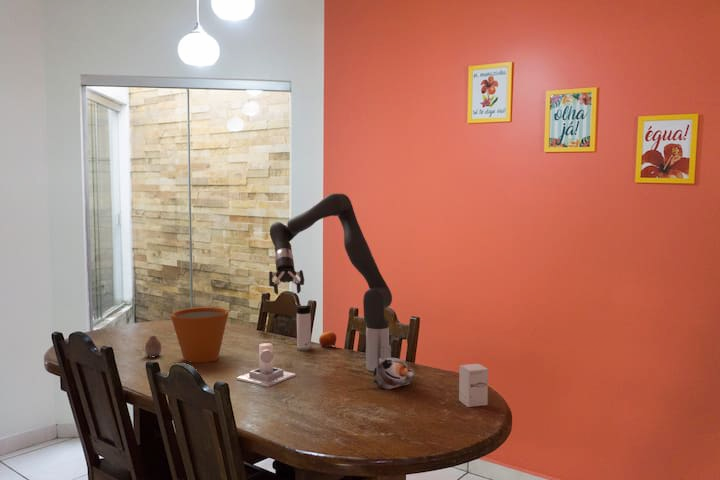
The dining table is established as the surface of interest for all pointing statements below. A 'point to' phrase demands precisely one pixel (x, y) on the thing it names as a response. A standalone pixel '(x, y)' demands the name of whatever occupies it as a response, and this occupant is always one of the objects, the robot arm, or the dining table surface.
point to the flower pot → (200, 332)
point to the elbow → (266, 358)
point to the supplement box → (473, 385)
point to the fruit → (327, 339)
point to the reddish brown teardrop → (153, 347)
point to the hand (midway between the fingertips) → (287, 292)
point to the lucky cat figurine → (392, 373)
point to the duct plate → (266, 377)
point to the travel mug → (304, 328)
